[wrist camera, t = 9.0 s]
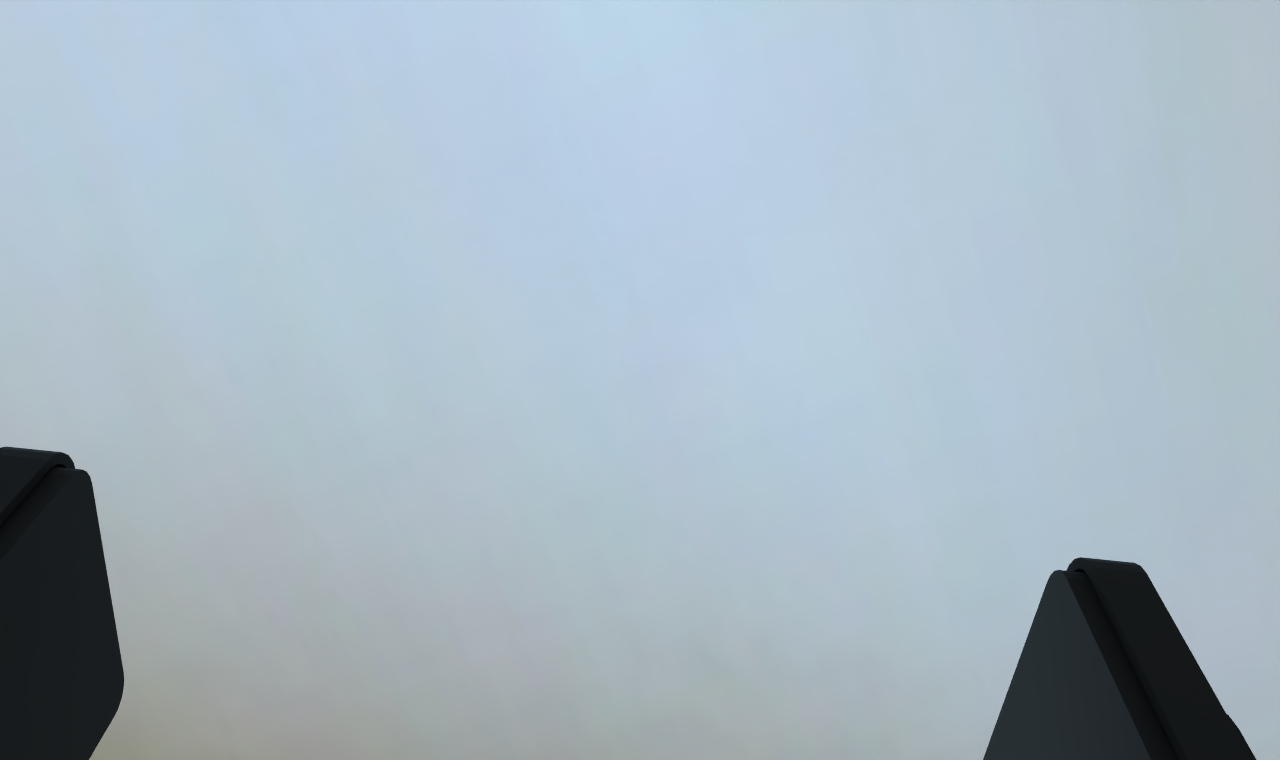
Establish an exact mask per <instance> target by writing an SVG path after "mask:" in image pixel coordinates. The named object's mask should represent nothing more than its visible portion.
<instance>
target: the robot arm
mask: <svg viewBox="0 0 1280 760" xmlns="http://www.w3.org/2000/svg"><path fill="white" fill-rule="evenodd" d="M123 687H124V672H123V666H122V660H121V654H120V648H119V642H118V636H117V630H116V624H115V618H114V612H113V606H112V600H111V594H110V588H109V582H108V576H107V570H106V564H105V558H104V552H103V546H102V541H101V535H100V529H99V523H98V517H97V511H96V505H95V499H94V493H93V487H92V482H91V479H90V476H89V475H88V473H87V472H86V471H84V470H80V469H75V466H74V463H73V461H72V460H71V458H70V457H69V455H67V454H65V453H62V452H53V451H43V450H34V449H24V448H14V447H2V448H0V760H89V758H90V757H91V755H92V753H93V752H94V750H95V748H96V747H97V745H98V743H99V741H100V740H101V738H102V736H103V735H104V733H105V731H106V730H107V728H108V726H109V724H110V723H111V721H112V719H113V718H114V716H115V714H116V712H117V710H118V707H119V704H120V701H121V698H122V693H123ZM983 760H1256V758H1255V756H1254V755H1253V753H1252V751H1251V749H1250V748H1249V746H1248V744H1247V742H1246V741H1245V739H1244V737H1243V735H1242V734H1241V732H1240V730H1239V729H1238V727H1237V726H1236V725H1235V723H1234V722H1233V721H1232V719H1231V718H1230V717H1229V715H1227V714H1226V713H1225V711H1224V709H1223V707H1222V706H1221V704H1220V702H1219V700H1218V699H1217V697H1216V695H1215V693H1214V692H1213V690H1212V688H1211V686H1210V684H1209V683H1208V681H1207V679H1206V677H1205V676H1204V674H1203V672H1202V670H1201V669H1200V667H1199V665H1198V663H1197V662H1196V660H1195V658H1194V656H1193V654H1192V653H1191V651H1190V649H1189V647H1188V646H1187V644H1186V642H1185V640H1184V639H1183V637H1182V635H1181V633H1180V632H1179V630H1178V628H1177V626H1176V624H1175V623H1174V621H1173V619H1172V617H1171V616H1170V614H1169V612H1168V610H1167V609H1166V607H1165V605H1164V603H1163V602H1162V600H1161V598H1160V596H1159V594H1158V593H1157V591H1156V589H1155V587H1154V586H1153V584H1152V582H1151V580H1150V579H1149V577H1148V575H1147V573H1146V572H1145V571H1144V569H1143V568H1142V567H1141V566H1140V565H1138V564H1135V563H1130V562H1120V561H1110V560H1100V559H1091V558H1077V559H1074V560H1073V561H1072V563H1071V564H1070V565H1069V567H1068V569H1067V571H1062V570H1057V571H1054V572H1053V573H1052V574H1051V575H1050V577H1049V579H1048V582H1047V584H1046V587H1045V590H1044V592H1043V595H1042V598H1041V601H1040V604H1039V606H1038V609H1037V612H1036V615H1035V617H1034V620H1033V623H1032V626H1031V628H1030V631H1029V634H1028V637H1027V640H1026V642H1025V645H1024V648H1023V651H1022V653H1021V656H1020V659H1019V662H1018V664H1017V667H1016V670H1015V673H1014V675H1013V678H1012V681H1011V684H1010V687H1009V689H1008V692H1007V695H1006V698H1005V700H1004V703H1003V706H1002V709H1001V711H1000V714H999V717H998V720H997V723H996V725H995V728H994V731H993V734H992V736H991V739H990V742H989V745H988V747H987V750H986V753H985V756H984V759H983Z"/></svg>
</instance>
